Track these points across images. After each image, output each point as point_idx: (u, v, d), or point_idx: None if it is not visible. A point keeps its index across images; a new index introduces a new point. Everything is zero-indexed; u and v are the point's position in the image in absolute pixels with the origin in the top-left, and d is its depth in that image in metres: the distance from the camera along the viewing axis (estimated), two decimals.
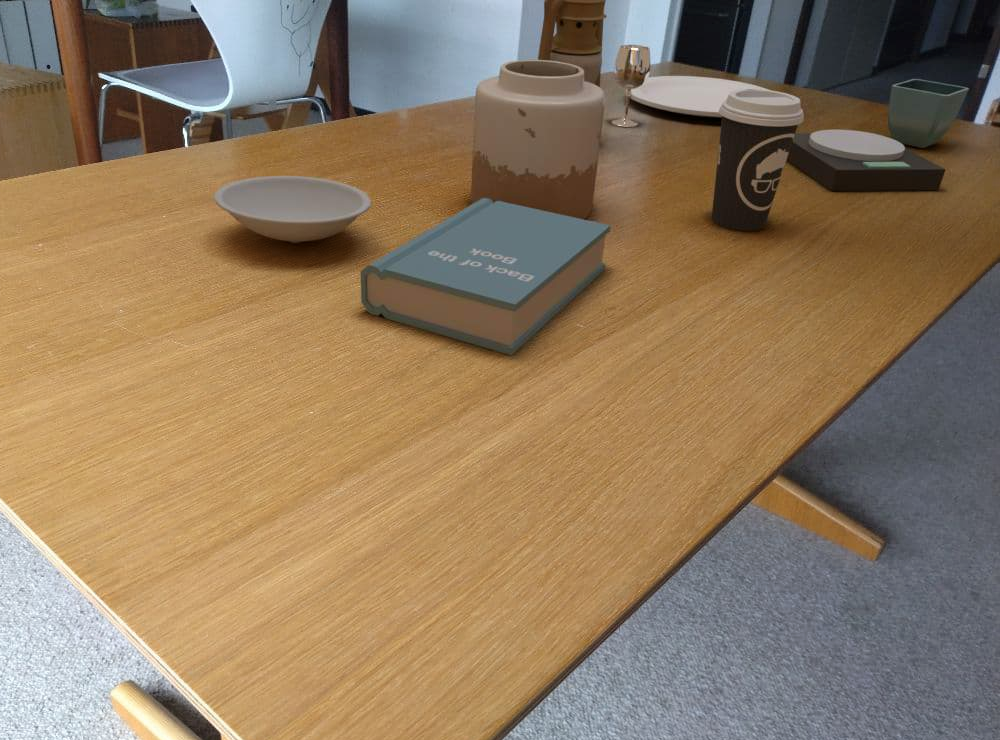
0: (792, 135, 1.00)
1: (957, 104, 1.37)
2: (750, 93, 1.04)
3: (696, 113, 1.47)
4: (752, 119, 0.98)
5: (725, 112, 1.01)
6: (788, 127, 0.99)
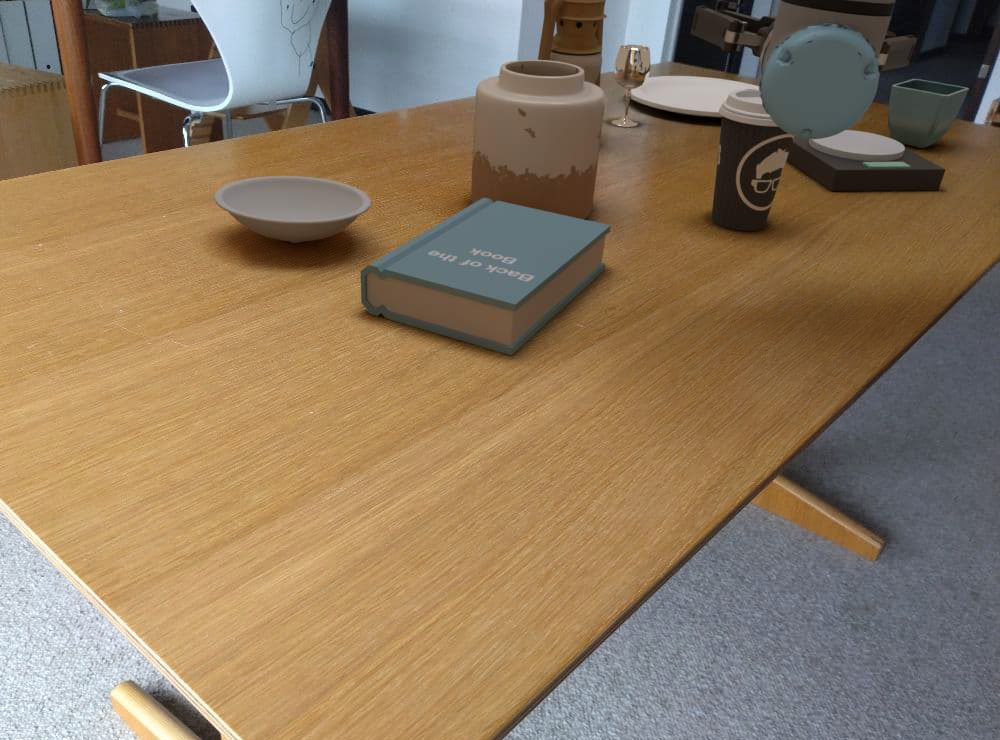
0: (792, 135, 1.00)
1: (957, 104, 1.37)
2: (750, 93, 1.04)
3: (696, 113, 1.47)
4: (752, 119, 0.98)
5: (725, 112, 1.01)
6: None
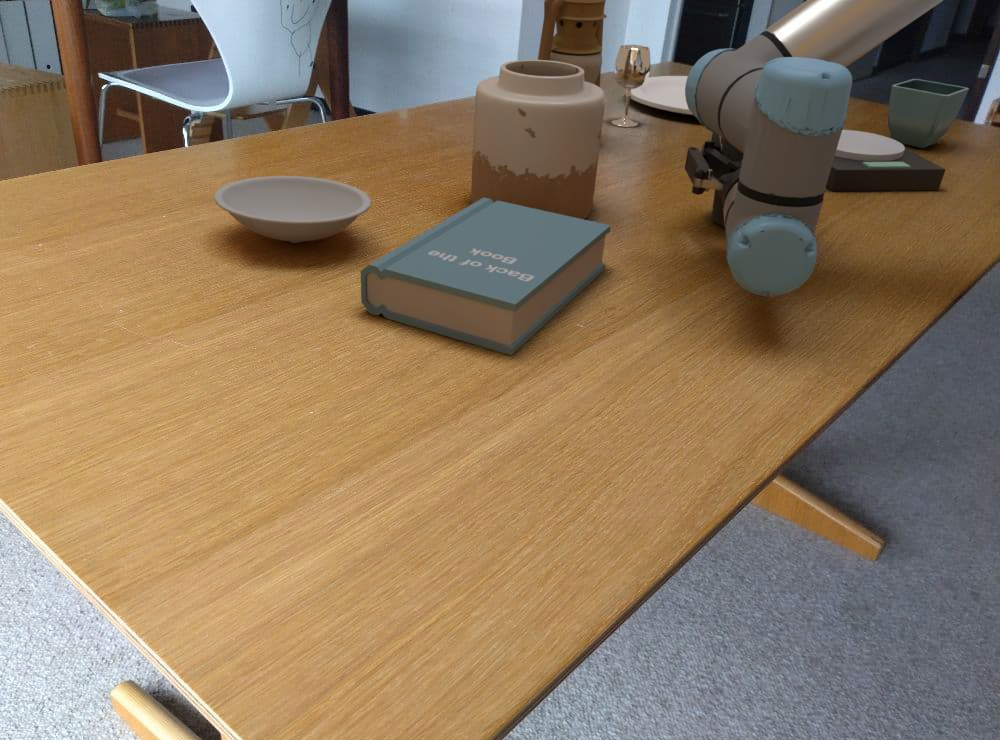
0: None
1: (957, 104, 1.37)
2: None
3: None
4: None
5: None
6: None
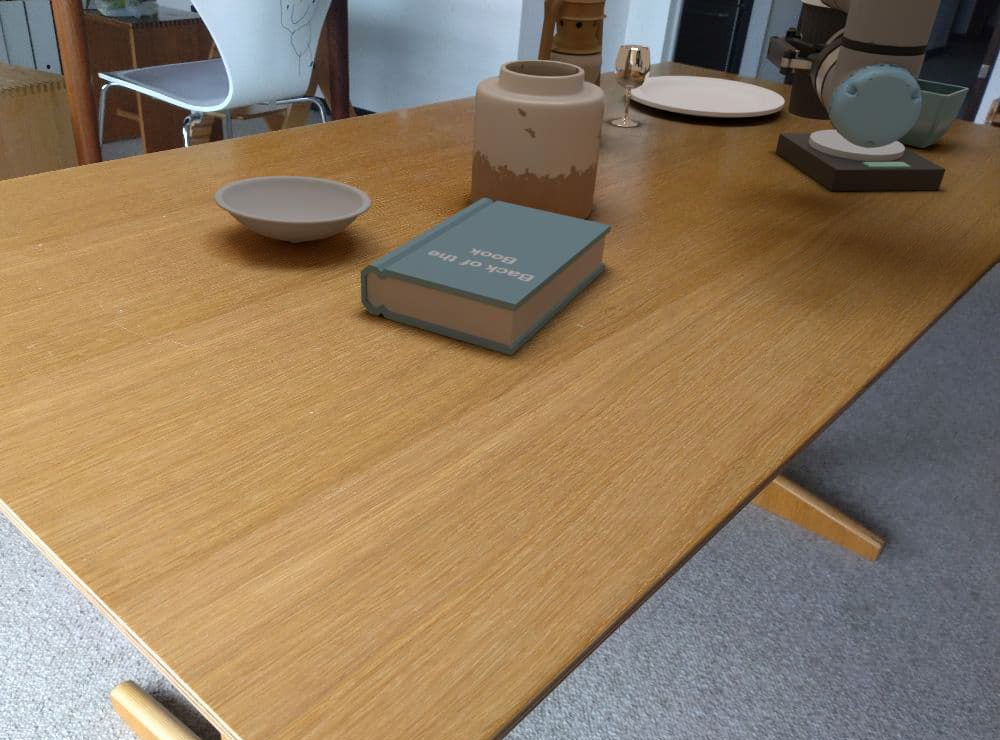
0: None
1: (957, 104, 1.37)
2: None
3: (696, 113, 1.47)
4: None
5: None
6: None
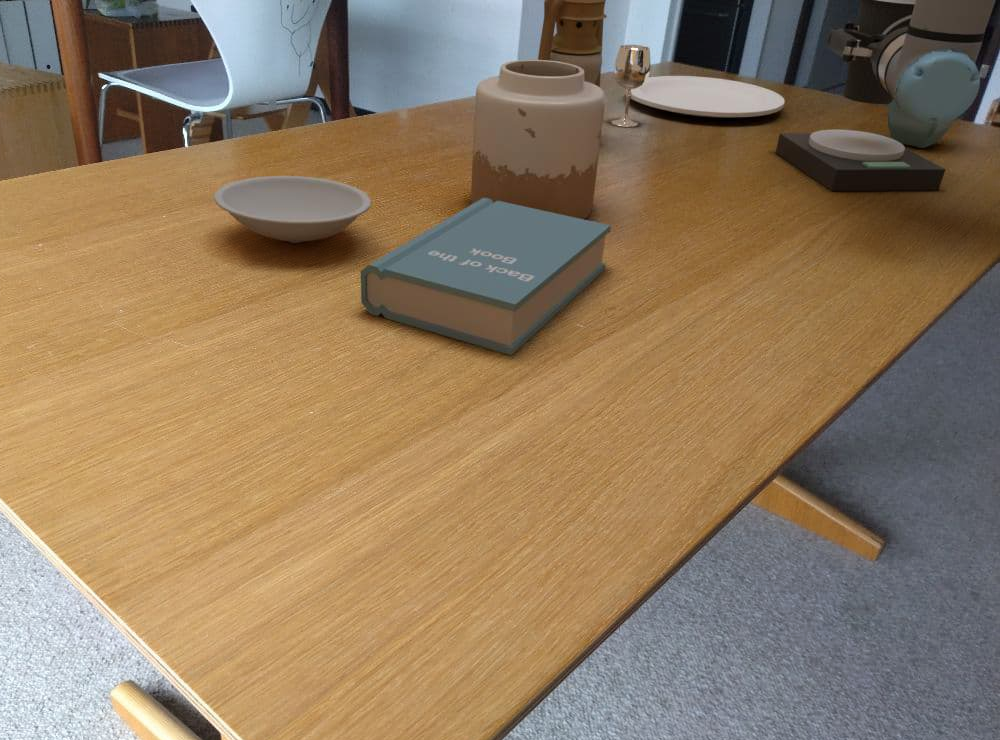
0: None
1: None
2: None
3: (696, 113, 1.47)
4: None
5: None
6: None
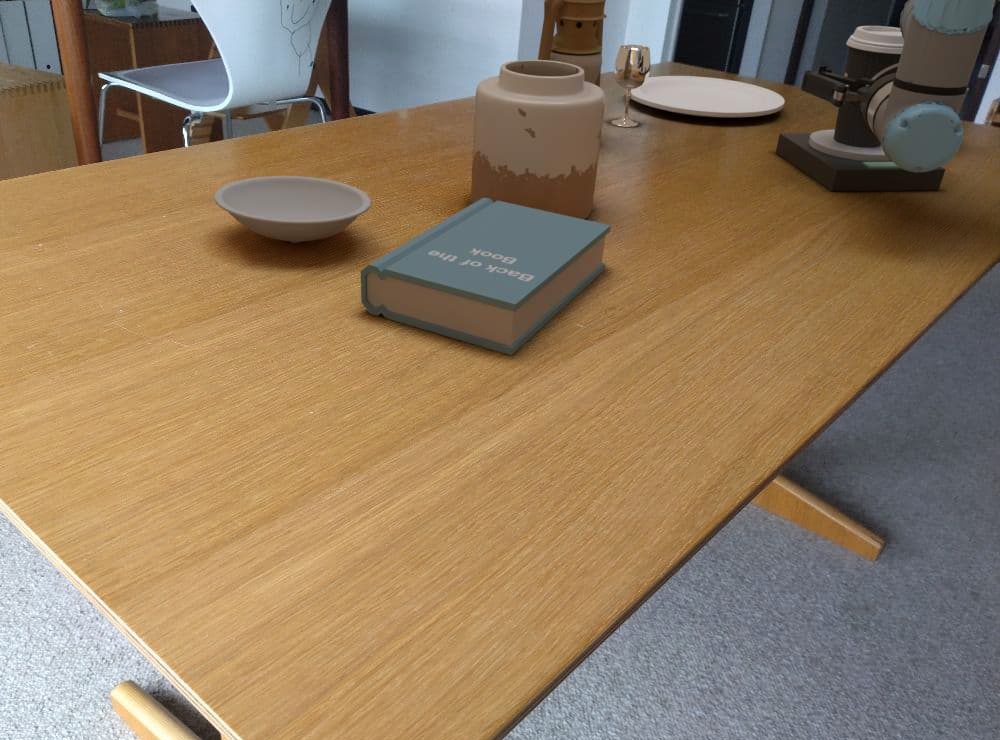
0: None
1: None
2: (872, 29, 1.22)
3: (696, 113, 1.47)
4: (879, 48, 1.17)
5: (854, 43, 1.19)
6: None
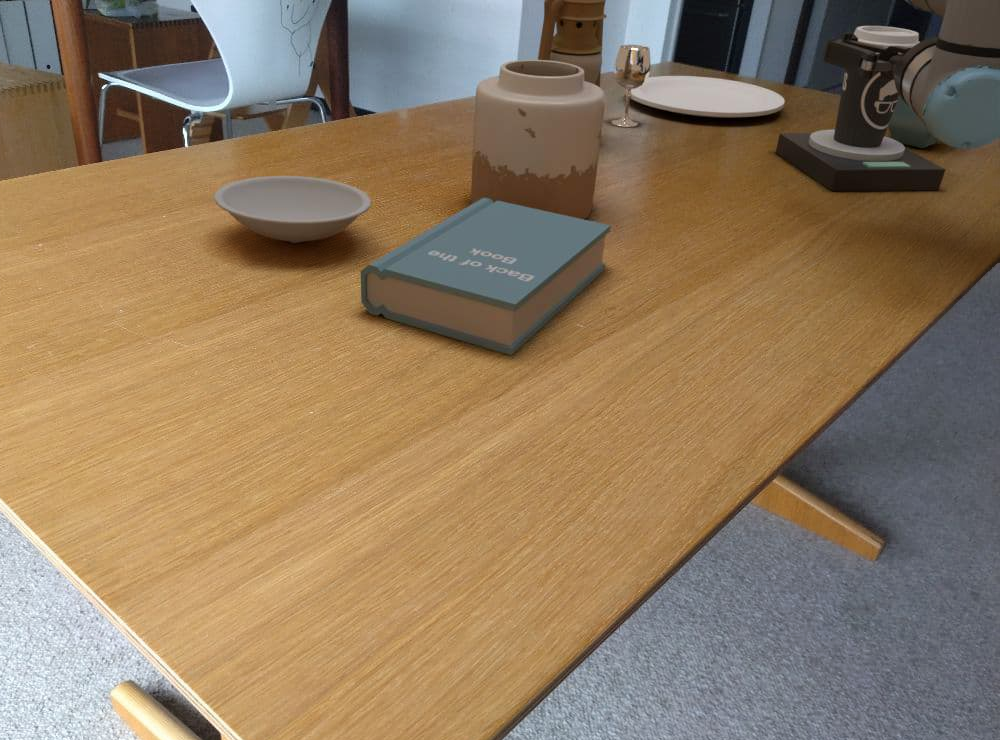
0: None
1: None
2: (872, 29, 1.22)
3: (696, 113, 1.47)
4: None
5: None
6: None
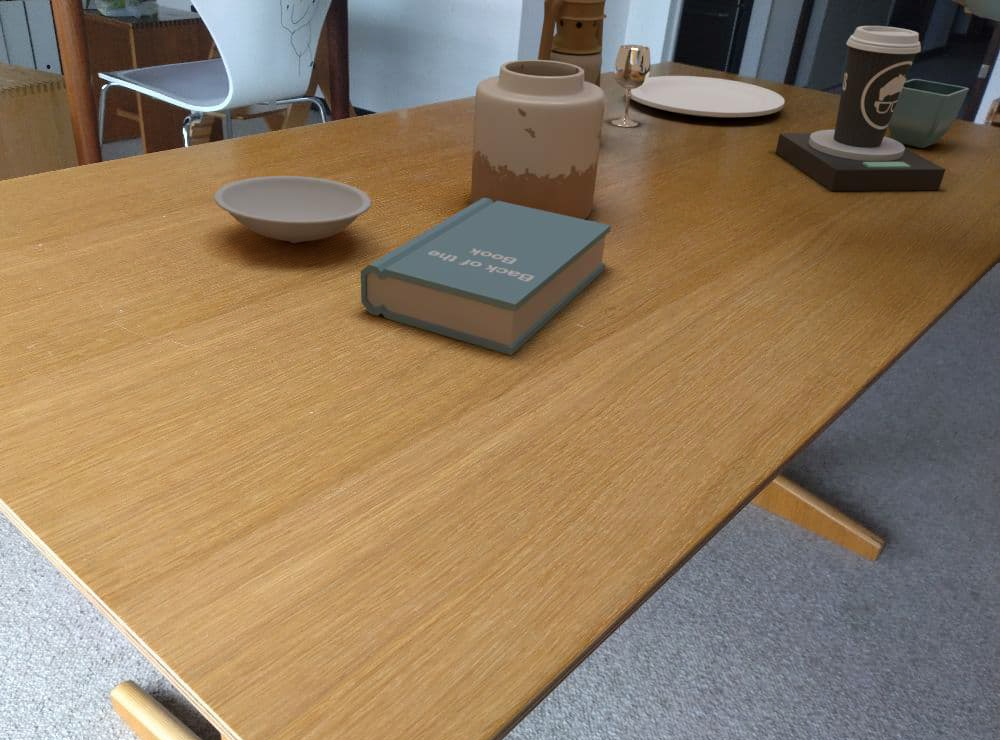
0: (911, 63, 1.19)
1: (957, 104, 1.37)
2: (872, 29, 1.22)
3: (696, 113, 1.47)
4: (879, 48, 1.17)
5: (854, 43, 1.19)
6: (909, 55, 1.18)
